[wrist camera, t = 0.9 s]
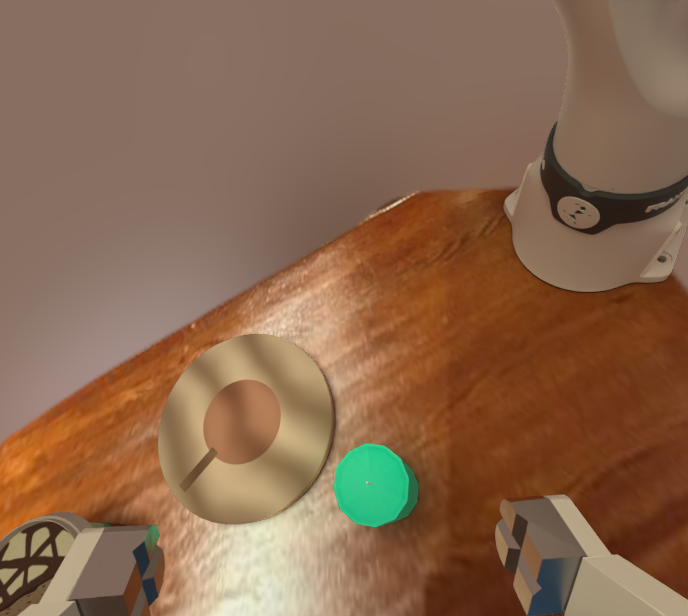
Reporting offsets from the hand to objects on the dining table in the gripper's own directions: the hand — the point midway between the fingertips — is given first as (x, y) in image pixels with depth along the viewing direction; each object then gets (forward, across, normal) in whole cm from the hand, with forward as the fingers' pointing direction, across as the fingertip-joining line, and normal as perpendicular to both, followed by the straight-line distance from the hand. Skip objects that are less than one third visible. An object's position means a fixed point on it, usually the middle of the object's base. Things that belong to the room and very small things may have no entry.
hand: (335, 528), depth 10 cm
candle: (+24, -7, +24) cm, 34 cm away
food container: (+27, +24, +33) cm, 49 cm away
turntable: (+32, +8, +21) cm, 39 cm away
